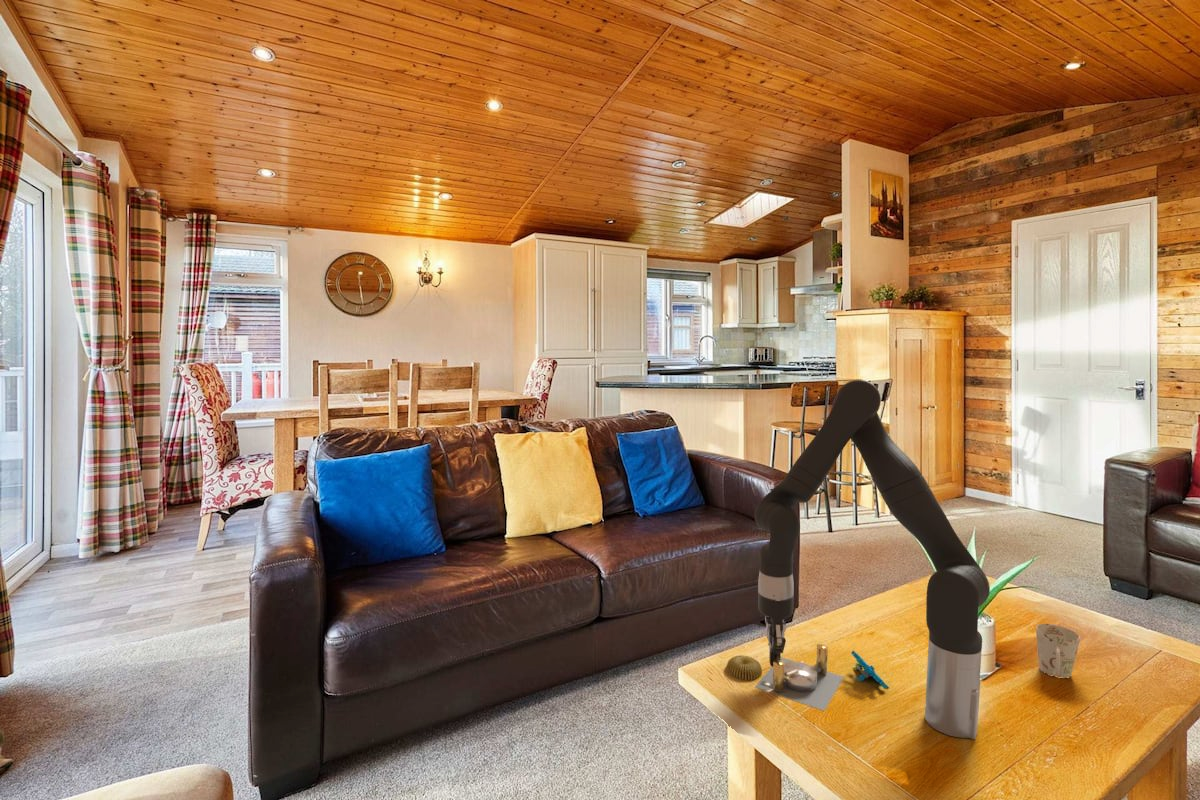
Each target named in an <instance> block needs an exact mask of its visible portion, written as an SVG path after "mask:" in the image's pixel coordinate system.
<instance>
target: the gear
mask: <svg viewBox="0 0 1200 800" xmlns="http://www.w3.org/2000/svg"><path fill="white" fill-rule="evenodd" d="M850 653H851V655H852V656H853V657H854V659H855V661H856V663H855V667H854V668H853V670H855V671H859V672H860V673H861V674H860V675H859V676H858V677H857V678H856V681H859V682H863V681H864V680H865V679H869V678H870V676H871V677H872V678H873V679H874V680H875V681H876V682H878V683H879V685H880V686H881V687H882V688H883V689H890V687H889V686H888V684H886V682H885V681H884V680H883V679H882V678H881V677H880V676H879V675H878V673H876V671H875V670H876V668H875V667H874V666H873V665H870V664H868V663H867V662H866V661H865V660H864V659H863V658H862V657H861V656H860V655H859V654H858V653H857V652H856V651H855V650H852V651H851V652H850Z"/></svg>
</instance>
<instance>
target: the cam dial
mask: <svg viewBox="0 0 1200 800" xmlns="http://www.w3.org/2000/svg"><path fill="white" fill-rule="evenodd" d="M828 651H829V647H828V646H827V645H826V644H823V643H818V644H817V645H816V663H815V664H814V665H809V664H807V663H804V662H803V663H801V661H795V662H786V663H784V662H783V661H781V660H775V661H774V662H773V690H774V691H776V692H783V691H784V686H786V687H788V688H790V689H793V690H797V691H810V690H813V689H815V688H816V686H817V673H819V674H827V671H828V658H829V657H828V655H829V652H828Z"/></svg>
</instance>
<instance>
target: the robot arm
mask: <svg viewBox="0 0 1200 800" xmlns="http://www.w3.org/2000/svg"><path fill="white" fill-rule="evenodd" d="M881 401H882V399H881V394H880V392H879V390H878V387H877V386H876V385H874V384H873V383H872V382H870V381H868V380H865V379H854V380H851V381H848V382H846V383H844V384H843V385H842V386H841V387H840V388H838V391H837V393H836V395H835V396H834V399H833V400H832V408H831V410H830V411H829V414H828V416H827V417H826V420H825V421H824V422H823V424H822V426H821V428H820V429H819V430H818V431H817V433H816V434H815V436H814V437H813V439H812V440H811V441H810V442H809V444H808V445H807V446H806V448H804V450H803V451H802V453H801V454H800V456H798V458H797V460H795V462H794V464H793V465H792V467H791V468H790V469H789V471H788V472H787V474H786V475H785V477H784V478H783V480H782V481H780V482H779V484H777V485H776V486H774V488H773V489H772V490H771V491H769V492H768V493H767V494H766V495H765V496H764V497H763V498H762V499H761V500H760V501H759V503H758V505H757V506H756V508H755V511H754V521H755V524H756V525H757V527H758V528H760V529H761V530H763V531H764V532H767V533H768V534H769V541H768V542H766V543H764V544H763V545H761V547H760V550H759V571H758V572H759V575H758V581H757V583H758V585H757V588H758V589H757V594H758V595H757V596H758V597H757V599H758V601H757V608H758V611H759V612H760V614H762V615H763V616H764V617H765V619H764V622H765V625H766V626H765V627H766V639H767V640H768V643H767V646H768V649H769V655H768V656H769V660H768V661H769V665H770V667H773V662H774V661H775V660H780V659H781V656H782V655H781V654H784V651H785V647H786V642H787V640H786V637H785V632H786V631H787V630H786V629H787V626H786V625H787V623H786V622H785V619H786V618H790V617H791V616H792V615H793V614H794V586H795V585H794V576H793V575H794V574H793V572H794V571H793V569H794V568H793V567H794V566H793V565H794V561H793V560H794V559H793V558H794V557H793V555H794V552H795V549H796V547H797V544H798V539H799V535H800V531H801V530H800V529H801V522H800V517H799V515H798V513H797V512H796V511H795V510H794V509H793V507H794V506H795V505H797V504H799V503H800V504H802V503H803V504H805V503H808V502H809V501H811V499H812V498H813V497H814V495H815V494H816V492H818V489H820V486H821V485H822V484H823V482H825V479H826V478H827V477H828V475H829V473H830V472H831V469H832V467H834V464H835V463H836V461H837V459H838V458H839V456H840V454H841V453H842V451H843V450H844V448H845V447H846V445H847V444H848V443H849V441H850V440H851V441H852V442H853V444H854V445H855V447H856V449H857V450H858V451H859V454H860V455H861V457H862V458H861V459H862V460H863V462H864V464H865V467H866V469H867V470H868V473H869V475H870V477H871V478H872V480H873V482H874V484H875V486H876V488H877V490H878V492H879V494H880V495H881V496H880V497H882V499H883V501H884V503H885V504H886V507H887V508H888V510H889V511H890V513H891V514H892V515H893V517H894V518H895V519H896V520H897V521H898V522H899V523H900V525H902V526H903V527H904V528H905V529H906V530H907V531H908V532H909V533H910V534H911V535H913V536H914V538H916V539H917V540H918V542H919V544H921V545H922V547H923V548H924V550H925V551H926V553H927V555H928V557H929V559H930V561H931V562H932V564H933V567H934V568H935V570H936V571H935V572H934V573H932V574H931V576H930V577H929V579H928V582H927V587H926V599H925V600H926V602H925V603H926V605H925V606H926V610H925V611H926V612H925V613H926V615H925V619H926V620H925V621H926V627H927V629H928V633H929V634H928V645H927V647H928V650H927V664H926V665H927V668H926V670H927V671H926V683H925V684H926V685H925V706H924V719H925V721H926V723H927V724H928V725H929V726H930V727H932V728H933V729H934V730H936V731H938V732H939V733H942V734H944V735H948V736H950V737H955V738H962V739H964V738H967V739H968V738H969V739H972V740H976V738H977V732H978V725H979V711H980V710H979V709H980V697H981V696H980V693H981V667H982V666H981V664H982V650H983V637H982V634H981V632H979V630H978V629H979V628H978V627H979V625H978V624H979V622H978V621H979V609H980V607H981V606H982V605H983V604H984V603H985V602H986V601H987V600H988V598H989V596H990V591H991V589H990V582H989V580H988V578H987V575H986V574H985V573H984V571H983V569H982V568H981V566H980V565H979V564H978V562H977V560H976V559H975V558H974V557H973V555H972V554H971V552H970V551H969V550H968V549H967V547H966V546H965V544H964V543H963V541H962V540H961V539H960V537H959V536H958V535H957V532H955V530H954V527H953V526H952V524H951V522H950V520H949V518H948V517H947V515H946V513H945V512H944V510H943V508H942V507H941V505H940V503H939V501H938V500H937V497H936V496H935V495H934V493H933V490H932V489H931V488H930V486H929V484H928V482H927V480H926V478H925V477H924V475H923V474H922V472H921V471H920V469H919V468H918V466H917V465H916V464H915V463H914V461H913V460H912V459H911V458H910V457H909V455H907V454H906V453H905V451H903V450H902V449H901V448H900V447H899V446H898V445H897V444H896V443H895V442H894V440H892V438H891V436H890V435H889V433H888V431H887V430H886V428H885V426H884V424H883V422H882V421H881V418H880V416H879V414H878V412H879V409H880V407H881Z"/></svg>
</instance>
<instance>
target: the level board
mask: <svg viewBox="0 0 1200 800" xmlns="http://www.w3.org/2000/svg"><path fill="white" fill-rule="evenodd" d="M780 660H781V661H783V662H784V663H786V662H796V661H794V660H791V659H788V658H785V657H781V659H780ZM800 662H801V663H804V660H801V661H800ZM844 678H845V676H844V675H840V674H837V673H834V672H831V671H828V670H827V674H819V673H817V686H816V688H815V689H813V690H810V691H797V690H793V689H790V688H788V687H786V686H784V691H783V692H776V691H774V690H773V667H772V666H770V669H769V670H768V671H766V673H765V674H764V676H763V677H762V678H761V679H760V680H759V681H758V683H757V684H756V685H755V688H757V689H759V690H762V691H765V692H766V693H771V694H774V695H777V696H780V697H782V698H785V699H788V700H791V701H794V702H797V703H800V704H802V705H806V706H809V707H810V708H814V709H818V710H819V711H822V712H823V711H824V712H825V711H826V710H827V708H828V705H829V704H830V702H831V700H832V699H833V697H834V696H835V694H836V692H837V690H838V689H839V687H840V685H841V683H842V682H843V679H844Z"/></svg>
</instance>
